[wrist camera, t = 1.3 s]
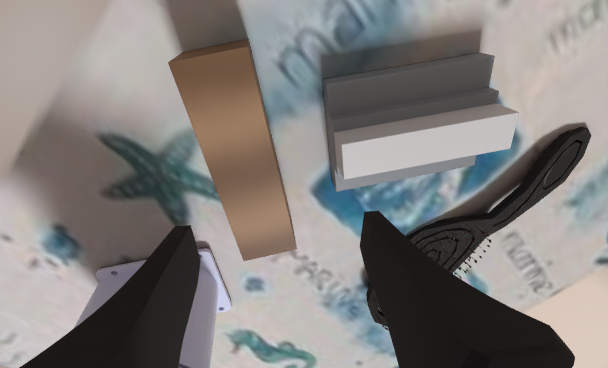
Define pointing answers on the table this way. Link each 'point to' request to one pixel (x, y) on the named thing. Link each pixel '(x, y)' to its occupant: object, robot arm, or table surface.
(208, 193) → the table surface
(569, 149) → the hairbrush
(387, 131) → the ridge stand
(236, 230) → the walnut stick
